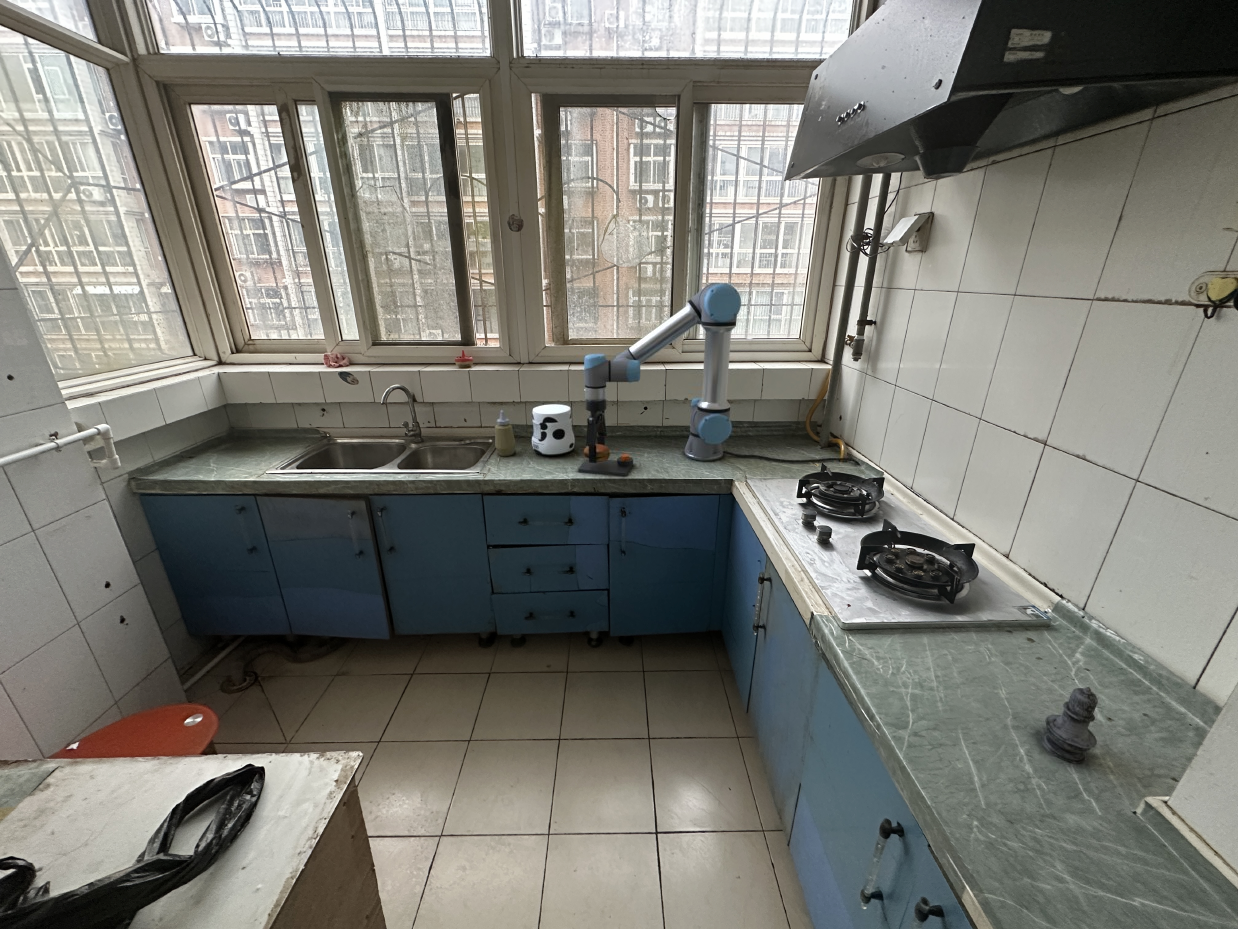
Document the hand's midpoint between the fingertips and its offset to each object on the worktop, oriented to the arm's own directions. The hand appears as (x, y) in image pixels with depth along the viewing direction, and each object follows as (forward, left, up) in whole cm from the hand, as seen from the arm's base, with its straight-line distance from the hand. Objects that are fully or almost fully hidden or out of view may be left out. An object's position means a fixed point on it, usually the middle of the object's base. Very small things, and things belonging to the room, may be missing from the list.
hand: (597, 457), depth 185 cm
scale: (-3, -1, -4) cm, 5 cm away
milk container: (+23, -14, -5) cm, 27 cm away
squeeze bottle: (+41, -7, -5) cm, 42 cm away
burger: (0, 0, 0) cm, 0 cm away
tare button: (-10, -4, -2) cm, 11 cm away
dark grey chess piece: (-103, +95, -5) cm, 140 cm away
